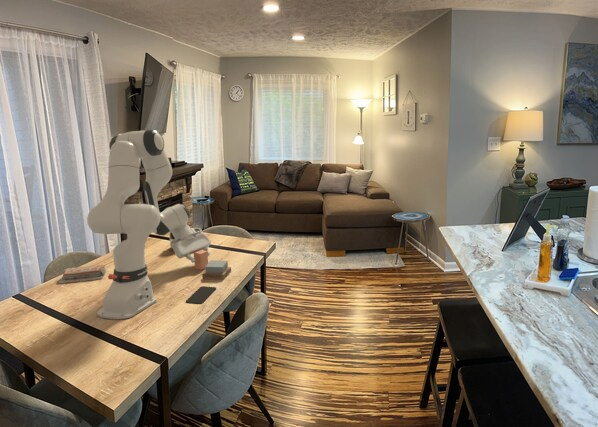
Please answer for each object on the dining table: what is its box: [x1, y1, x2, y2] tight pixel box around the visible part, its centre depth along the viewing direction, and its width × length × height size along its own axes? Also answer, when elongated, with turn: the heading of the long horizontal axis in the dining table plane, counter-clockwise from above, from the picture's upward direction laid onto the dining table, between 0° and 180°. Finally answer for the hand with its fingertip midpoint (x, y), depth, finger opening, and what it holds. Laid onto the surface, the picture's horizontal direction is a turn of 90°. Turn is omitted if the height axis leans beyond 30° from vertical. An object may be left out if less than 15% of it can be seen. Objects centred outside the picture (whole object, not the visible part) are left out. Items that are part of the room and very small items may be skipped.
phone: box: [185, 285, 217, 305], centre depth 164 cm, size 7×1×15 cm
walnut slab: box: [201, 266, 232, 281], centre depth 184 cm, size 10×10×3 cm
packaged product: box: [58, 264, 107, 284], centre depth 184 cm, size 18×5×10 cm
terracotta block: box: [193, 250, 209, 271], centre depth 193 cm, size 4×4×8 cm
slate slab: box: [204, 259, 229, 273], centre depth 184 cm, size 8×8×3 cm
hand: (201, 258), depth 193 cm, fingers open, 8 cm apart
